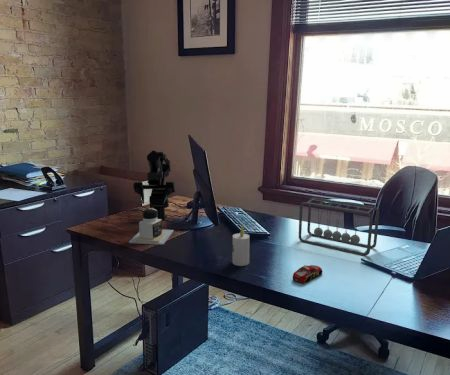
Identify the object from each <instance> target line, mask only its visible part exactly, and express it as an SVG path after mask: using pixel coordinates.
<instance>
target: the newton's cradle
mask: <svg viewBox="0 0 450 375" xmlns="http://www.w3.org/2000/svg"><path fill="white" fill-rule="evenodd" d="M312 201H316V202H320V203H315V202H312ZM323 203H329V204H328V205H327V204H323ZM333 204H335V205H338V206H333ZM342 205H343V206H345V207H341V206H342ZM304 206H308V209H307V211H308V214H307V229H306V231H307V234H308V235H309V236H308V237H306V238H304V239H303V238H302V227H303V226H302V225H303V210H304V209H303V207H304ZM346 206H347V207H346ZM312 207H315V208H317V207H318V208H317V209H318V220H317V222H318V224H317V226H318V227H316V228H315V229H313V233H312V232H311V214H312ZM351 207H354V208H358V209H352V208H351ZM320 208H321V209H327V210H326V211H327V215H329V216H331V212H332V211H330V213H329V210H335V211H339V213H338V214H339V215H338V217H340V214H341V212H345V213H350V214H351V213H352V214H354V215H355V216H354V217H355V218H354V220H355V221H354V229H355V231H357V229H358V226H357V224H358V223H359V221H358V220H359V219H357V220H356V216H359V215H364V216H368V217H369V225H368V235H367V244H365V243H360V241H361V238H360V236H359V235H357V233H354V234H353V235H351V234H349V233H347V232H348V230H345V232H344V233H341V232H340V231H338V229H339V227H336V231H333V232H332V230H331V229H329V228H330V227H327V229H325V230H323V229H322V228H321V227H320V225H321V223H320V221H321V218H322V216H320V214H322V212H323V210H321V212H320ZM360 209H364V210H360ZM365 209H367V210H368V211H365ZM373 210H374V211H375V213H376V214H375V224H374V231H373V220H374V217H373V215H372V213H371V212H372V211H373ZM349 217H350V215H348V217H347V220H349V219H350V218H349ZM298 218H299V219H298V222H299V223H298V240H299V241H300V242H301V243H305V244H309V245H313V246H319V247H323V248H326V249H327V248H328V249H331V250H335V251H341V252H345V253H350V254H355V255H360V256H363V257H366V256H368V255H369V254H370V252H371V249H374V248H375V247H376V246H377V243H378V242H377V240H378V230H379V229H378V228H379V220H380V210H379V209H378V207H376V206H372V205H365V204H359V203H353V202H347V201H346V202H345V201H339V200H333V199H332V200H331V199H327V198H321V197H315V196H314V197H311V198H310V199H309V200H308V201H307V202H305V201H303V202H301V203H300V205H299V215H298ZM330 221H331V219H328V224H330ZM339 222H340V220H337V225H339ZM348 225H349V222H346V227H348ZM372 232H374V235H373V242H372ZM310 237H316V238H320V239H324V240H329V241H335V242H339V243H344V244H348V245H353V246H358V247H361V248H362V247H363V248H366V250H365V251H364V252H361V251H357V250H352V249H349V248H344V247H338V246H335V245H334V246H333V245H330V244H325V243H320V242H316V241H310V240H308V239H309V238H310ZM371 243H373V244H371Z"/></svg>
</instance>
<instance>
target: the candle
mask: <svg viewBox="0 0 450 375" xmlns="http://www.w3.org/2000/svg"><path fill="white" fill-rule="evenodd" d="M250 238H251V237H250V234H248V233H245V225H244V224H242V226H241V229H240V232H239V233H238V232H237V233H234V234H232V244H231V252H232V264H233V265H235V266H237V267H238V266H239V267H243V266H244V267H245V266H248V265H249V264H250V240H251V239H250Z"/></svg>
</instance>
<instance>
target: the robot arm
mask: <svg viewBox="0 0 450 375" xmlns="http://www.w3.org/2000/svg"><path fill="white" fill-rule="evenodd" d="M146 161H147V165H148V167H149V172H147V184H143V181H135V182H133V185H132V188H133V191H134V193H136V194H137V195H140V198H141V201H142V204H143V205H144V204H145V192H144V191H145V190H151V191H150V192H151V193H150V195H149V196H148V197H149V199H148V203H149V209H156V210H157V219H161V220H162V221H165V220H166V218H168V215H166V209H167V208H169V207H170V204H169V196H170V195H172V194H173V193H175V192H176V186H175V184H176V183H175V182H174V181H166V179H167V177H169V175H170V173H171V172H172V170H171V169H172V168H171V161H170V160H169V159H168V157H167V154H165V153H164V151H156V150H151V151H150V152H149V153H148V154H147V155H146Z"/></svg>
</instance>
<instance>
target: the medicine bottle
mask: <svg viewBox="0 0 450 375" xmlns="http://www.w3.org/2000/svg"><path fill="white" fill-rule="evenodd" d="M138 228H139V230H138V232H140V237H141V238H146V239H152V240H154V239H155V238H157V237H159V236H161V235H162V229H163V220H161V219H157V210H156V209H153V208H145V209H144V210H143V211H142V220H140V221H139V222H138Z"/></svg>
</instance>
